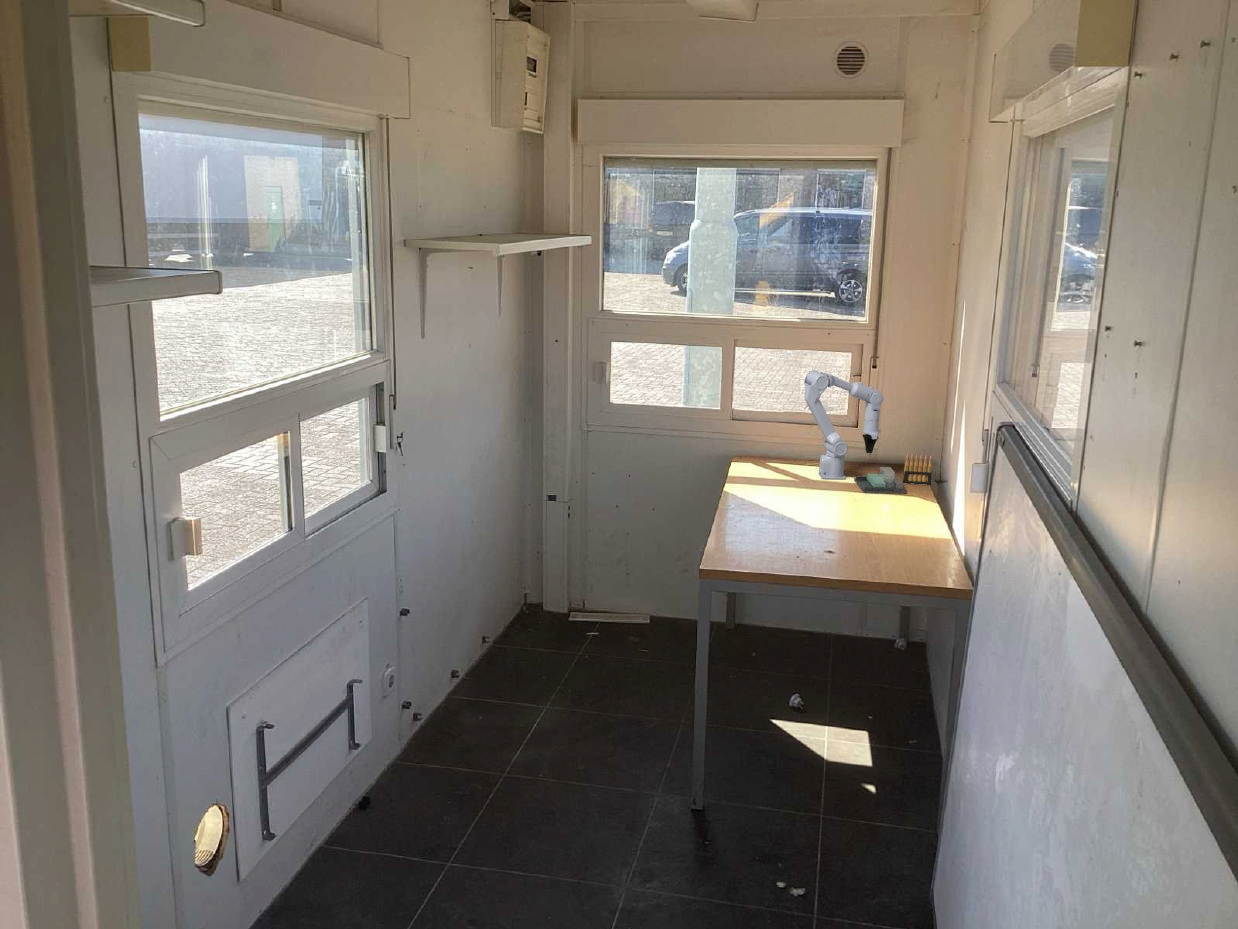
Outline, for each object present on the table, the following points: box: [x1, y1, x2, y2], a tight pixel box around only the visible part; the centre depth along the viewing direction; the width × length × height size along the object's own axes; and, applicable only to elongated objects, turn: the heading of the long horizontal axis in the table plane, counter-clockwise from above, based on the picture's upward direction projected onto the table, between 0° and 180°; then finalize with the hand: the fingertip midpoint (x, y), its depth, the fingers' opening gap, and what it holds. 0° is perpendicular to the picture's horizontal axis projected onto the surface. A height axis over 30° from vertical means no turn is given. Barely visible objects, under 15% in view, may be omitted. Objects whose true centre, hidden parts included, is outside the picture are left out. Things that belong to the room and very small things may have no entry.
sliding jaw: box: [866, 473, 886, 487], centre depth 417 cm, size 4×14×2 cm, turn 0°
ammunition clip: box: [902, 453, 933, 486], centre depth 422 cm, size 11×2×12 cm, turn 81°
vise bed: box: [853, 474, 907, 495], centre depth 417 cm, size 16×18×3 cm
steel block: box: [878, 466, 896, 487], centre depth 417 cm, size 4×7×6 cm, turn 0°
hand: (869, 452), depth 432 cm, fingers closed
